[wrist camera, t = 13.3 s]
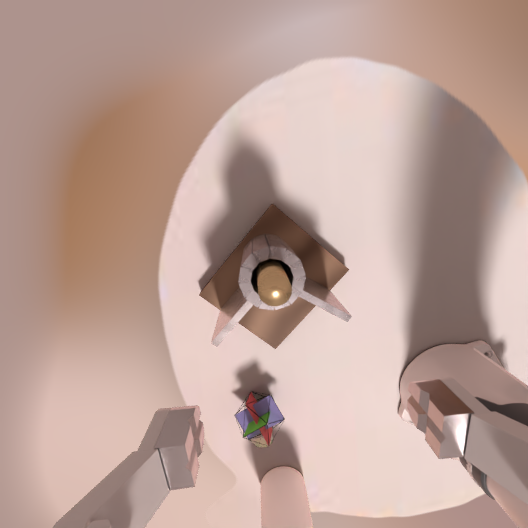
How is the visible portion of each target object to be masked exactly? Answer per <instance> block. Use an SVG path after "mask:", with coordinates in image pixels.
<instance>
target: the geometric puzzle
mask: <svg viewBox="0 0 528 528" xmlns="http://www.w3.org/2000/svg"><path fill="white" fill-rule="evenodd" d="M253 393H254V392H253ZM255 394H257V392H256V393H255ZM262 394H263V393H262ZM258 395H259V394H258ZM261 396H262V395H261ZM265 397H266V398H264V396H263V398H264V399H262V398H260V399H262V400H260V401H259V402H257V400H256V399H255V398H254V396H253V394H252V392H250V394H249V397H248V399H247V401H246V403H245V405H246V407H247V409H245V410H243V411H241V412H240V413H238V412H239V411H240V410H241V409H242V408H243V407H244V406H245V405H244V406H243V407H242V408H241V409H240V408H239V409H240V410H239V411H237V413H238V414H237V413H236V414H235V415H234V416H235V417H236V418H237V419H236V420H238V422H239V424H240V425H241V427H242V429H243V435H242V436H243V438H244V437H246V436H247V438H248V440H250V441H251V442H252V443H253V444H254V445H256V446H257V447H258V448H261V447H270V444H271V443H272V441H273V426H274V425H276V424H277V423H279V422H280V423H281V422H282V421H283V420H285V419H284V417H283V415H282V414H281V412H280V410H279V409H278V407H277V405H276V403H275V402H274V400H273V398H272V397H271V394H270V395H269V394H268V396H265ZM245 400H246V399H245ZM258 400H259V399H258ZM243 403H244V402H243ZM241 406H242V405H241ZM283 422H284V421H283ZM280 423H279V424H280ZM276 426H277V425H276ZM276 426H275V427H276ZM280 427H281V426H280ZM239 428H240V427H239ZM279 429H280V428H279ZM240 431H241V430H240ZM244 433H245V434H244ZM259 433H261V434H262V435H263V436H262V437H259V438H254V436H255V437H256V435H257V436H258V434H259ZM261 434H259V435H261ZM276 434H277V433H276ZM252 438H254V439H252ZM245 439H246V438H245Z"/></svg>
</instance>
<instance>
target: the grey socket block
mask: <svg viewBox="0 0 528 528" xmlns="http://www.w3.org/2000/svg"><path fill="white" fill-rule="evenodd" d="M270 258H271V259H277V260H282V263H281V264H282V266H283V268H284V270H285V273H286V275H287V277H288V279H289V281H290V283H291V286H292V294H291V297H290V298H289V300H288V301H287V302H286V303H285V304H283V305H280V306H269V305H266V304H265V303H264V302H262V300H261V299H260V297H259V294H258V283H257V269H255V267H256V266H257V265H258V264H259V262H262V261H265V260H267V259H270ZM305 275H306V274H305V271H304V268H303V266H302V263H301V260H300V259H299V258H298V256H297V255H296V254H295V253H294V251H293V250H292V249H291V248H290V246H289V245H288V244H287V243H286V242H285V241H284V240H282V239H281V238H280V237H279V236H277V235H271V234H265V235H264V234H262V235H259V236H256V237H254V238H253V239H251V240H250V241H249V242H248V244H247V245H246V246H245V247H244V250H243V256H242V261H241V267H240V274H239V281H238V282H239V283H238V284H239V288H238V289H237V290H236V291H235V292H234V294H233V295H232V296H231V297H230V298H229V300H228V301H227V302H226V303H225V304H224V305H223V307H222V308H221V310H220V313H219V317H218V320H217V324H216V327H215V330H214V334H213V337H212V341H211V343H212V344H213V345H215V346H216V347H217V346H218V345H219V344H220V343H221V342H222V340H223V339H224V338H225V337H226V336H227V335H228V333H229V332H230V331H231V330H232V329H233V328H234V327H235V325H236V324H237V323H238V322H239V321H240V320H241V319H242V317H243V316H244V315H245V314H246V313H247V312H248V310H249V309H250V308H251V307H252V306H253V305H254V306H256V307H257V308H258V307H259V309H267V310H274V309H275V310H278V309H281V308H284V307H286V306H289V305H290V303H291V304H292V303H293V302H294V301H295V300H296V299H297V298H298V297H301V298H303V299H305V300H307V301H308V302H310V303H312V304H314V305H316V306H318V307H320V308H322V309H324V310H326V311H327V312H329V313H331V314H333V315H335V316H337V317H339V318H341V319H343V320H345V321H346V322H348V321H349V319H350V318H351V315H350V314H349V312H348V311H347V310H346V309H345V308H344V307H343V305H342V304H341V303H340V302H339V301H338V300H337V298H336V297H335V296H334V295H333V294H332V293H331V291H330V290H329V289H328V288H326V287H324V286H323V285H321V284H319V283H317V282H315V281H313V280H312V279H310V278H308V277H306V276H305Z"/></svg>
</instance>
